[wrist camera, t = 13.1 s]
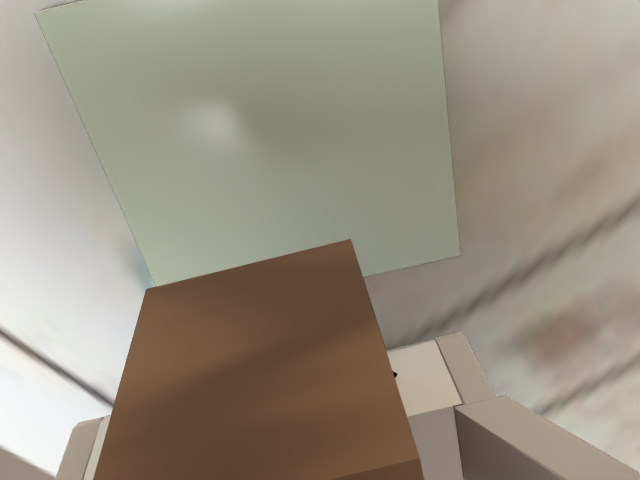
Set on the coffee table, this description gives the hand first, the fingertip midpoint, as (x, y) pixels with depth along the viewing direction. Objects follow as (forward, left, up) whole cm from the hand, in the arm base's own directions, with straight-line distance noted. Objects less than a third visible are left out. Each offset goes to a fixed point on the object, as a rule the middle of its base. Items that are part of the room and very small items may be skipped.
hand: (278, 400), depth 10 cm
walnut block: (0, 0, -2) cm, 2 cm away
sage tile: (0, 0, -12) cm, 12 cm away
